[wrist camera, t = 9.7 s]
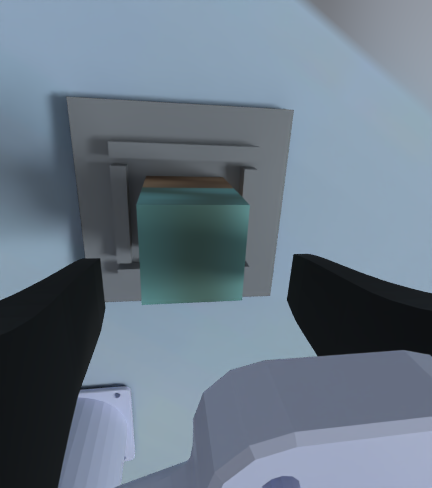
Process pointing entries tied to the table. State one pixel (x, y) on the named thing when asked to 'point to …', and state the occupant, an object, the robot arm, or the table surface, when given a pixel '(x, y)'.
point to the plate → (174, 164)
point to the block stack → (191, 240)
